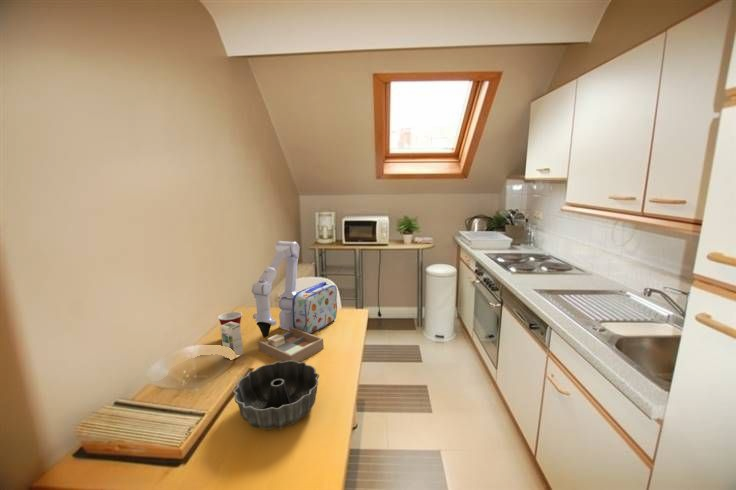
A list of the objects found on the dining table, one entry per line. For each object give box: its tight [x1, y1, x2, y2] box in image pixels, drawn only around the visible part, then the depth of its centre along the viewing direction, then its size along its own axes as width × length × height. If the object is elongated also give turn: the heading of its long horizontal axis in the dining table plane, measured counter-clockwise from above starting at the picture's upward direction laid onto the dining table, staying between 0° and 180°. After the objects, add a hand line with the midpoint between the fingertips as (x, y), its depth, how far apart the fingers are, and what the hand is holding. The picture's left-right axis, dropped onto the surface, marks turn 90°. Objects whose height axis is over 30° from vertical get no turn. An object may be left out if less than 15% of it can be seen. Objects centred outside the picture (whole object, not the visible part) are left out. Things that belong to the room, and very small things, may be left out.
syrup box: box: [220, 322, 244, 356], centre depth 141 cm, size 6×6×14 cm
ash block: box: [267, 333, 285, 348], centre depth 147 cm, size 5×5×3 cm
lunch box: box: [292, 281, 338, 334], centre depth 168 cm, size 28×10×22 cm, turn 150°
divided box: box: [257, 327, 325, 363], centre depth 147 cm, size 22×18×4 cm
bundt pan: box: [232, 361, 320, 430], centre depth 107 cm, size 26×26×10 cm
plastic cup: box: [217, 311, 243, 327], centre depth 158 cm, size 11×11×12 cm
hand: (265, 336), depth 151 cm, fingers closed
